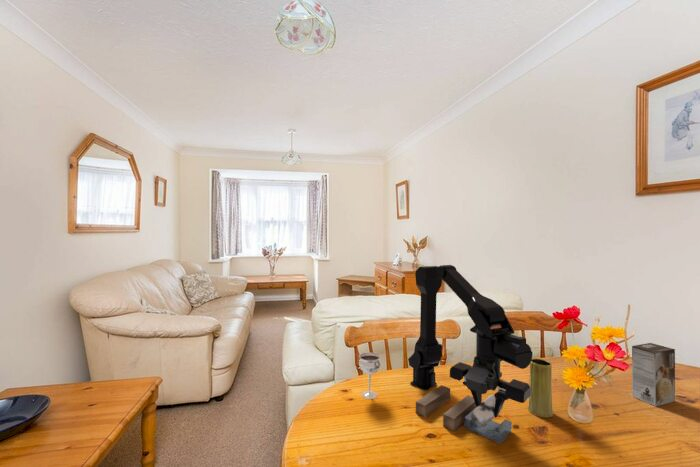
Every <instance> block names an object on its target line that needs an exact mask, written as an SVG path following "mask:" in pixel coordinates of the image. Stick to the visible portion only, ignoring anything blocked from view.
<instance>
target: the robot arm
mask: <svg viewBox="0 0 700 467" xmlns="http://www.w3.org/2000/svg"><path fill="white" fill-rule="evenodd" d="M414 275H415V285H416V287H417V289H418V290H419V293H420V318H419V319H420V322H419V324H420V325H419V327H420V328H419V337H418V339H417V340H416V342H415V344H414V351H413V354H411V356H410V357H408V359H407V360H408V365H409V367H410V368H412V381H410V383H409V384H410V385H412V386H414V387H416V388H419V389H421V390H424V391H425V392H426V391H428V390H430V389H432V388H434V387H435V386H437V385H438V384H437V382H436V372H435V367H437V368H438V367H439V364H440V362H441V360H442V357H444V356H443V344H441V343H440V342H439V341H438V339H437V336H436V335H437V334H436V332H437V294H438V292H439V291H440V289H441V287H442V284H443V281H444V283H445V284H446V285H447V286H448V287H449V288H450V290H452V292H453V293H454V294H455V295H456V296H457V297H458V298H459V299H460V301H461V302H462V303H463V304H464V305H465V306H466V310H467V314H468V316H469V317H470V319H471V321H472V322H473V323H474V325H473V327H470V329H469V331H470V332H471V333H474V334H476V336H475V337H476V339H475V340H476V342H475V343H476V344H475V345H476V346H475V347H476V348H475V350H476V351H475V356H474V357H473V364H472V365H470V364H467V363H464V362H460V361H459V362H457V363H456V364H454V365H453V366H451V367H450V368H449V377H450V378H451V379H454V380H456V381H458V382H459V381H461V380H463V381H462V385H463V386H465V387H466V388H467V389H468V390H470V393H471V395H472V397H473V398H474V401H475V404H476V407H477V406H479V405H480V404H481V403H482V402H483V401H482V400H483V399H482V398H483V395H485V394H486V393H487V392H488V391H490V390H491V391H493V392H494V391H496V389H497V392H496V393H494V394H493V395H494V396H495V410H494V414H495V417H494V418H495V419H496V418H498V416H499V415H500V413H501V410H502V409H503V408H502V406H503V407H504V403H505V402H506V401H508V400H512V401H514V402H517V403H519V404H520V403H521V404H524V403H525V402H527V400H529V397H530V396H531V388H530V386H529V383H527V382H524V381H521V380H517V379H515V378H512V380H511V381H510V382H509V381H506V380H502V379H501V378H502V376H503V372H501V362H505V363H507V364H510V365H512V366H514V367H517V368H519V369H520V370H521V369H522V370H524V369H526V368H528V367H530V363H531V360H532V359H533V351H532V348H531V346H530V345H529V344H528V343H527V338H526V337H522V336H517V335H514V334H515V329H514V328H513V326H512V324H511V322H510V321H509V319H508V317H507V315H506V311H505V309H504V308H503V306H502V305H500V304H499V303H497V302H496V301H494V300H493V299H491V298H489V297H487V296H484V295H482V294H481V293H480V292H479V291H478V290H477V289H476V288H475V287H474V286H473V285H472V284H471V283H470V282H469V281H467V279H466V277H464V276H463V275H462V274H461V273H460V272H459V271H458V270H457V268H456V266H454V265H453V264H442V265H439V266H438V265H429V266H427V265H426V266H419V267H418V268H417V269H416V270H415V274H414ZM496 327H497V328H496ZM501 408H502V409H501Z"/></svg>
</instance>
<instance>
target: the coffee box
mask: <svg viewBox="0 0 700 467" xmlns="http://www.w3.org/2000/svg"><path fill="white" fill-rule="evenodd" d="M631 355H632V356H631V378H632V379H631V380H632V382H631V397H632V396H633V397H632V398H634V397H636V398H635V399H637V398H638V399H637V400H639V399H640V400H639V401H641V400H642V401H641V402H644V401H645V402H644V403H646V402H647V404H648V405H651V404H652V405H651V406H653V405H654V406H653V407H660V406H663V405H666V404H667V405H668V404H671V403H674V402H676V349H675V348H672V347H668V346H663V345H660V344H656V343H653V342H647V343H642V344H636V345H632V346H631Z"/></svg>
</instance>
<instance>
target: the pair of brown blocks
mask: <svg viewBox="0 0 700 467" xmlns="http://www.w3.org/2000/svg"><path fill="white" fill-rule="evenodd" d="M450 400H451V387H447V386H446V385H442V384H441V385H439V386H438V387H436V388H435V389H433V390H432V391H430V392H428V393H427V394H425V395H424V396H422V397H421V398H419V399H418V400H416V401H415V414H417V415H419V416H421V417H423V418H427V417H428V416H429V415H430V414H432V413H433V412H434V411H436V410H437V409H438V408H441V406H443V405H444V404H445V403H447V402H448V401H450ZM475 408H476V404H475V401H474V398H473V396H471V395H466V396H465V397H463V398H462V399H461V400H459V401H458V402H457V403H456V404H454V405H453V406H452V407H451V408H449V409H448V410H446V411H445V412H444V413H443V414H442V426H443V427H444V428H446V429H449V430H450V431H453V432H455V431H456V430H457V429H458V428H459V427H461V426H462V425H463V424H464V423H465V417H466V416H467V415H468V414H469V413H470V412H472V411H473V410H474V409H475Z"/></svg>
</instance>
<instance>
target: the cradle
mask: <svg viewBox="0 0 700 467" xmlns="http://www.w3.org/2000/svg"><path fill="white" fill-rule="evenodd" d="M471 413H472V412H470V413H469V414H468V415H467V416H466V417H465V422H464V423H463V424H464V428H465V429H467V430H469V431H471V432H473V433H475V434H477V435H479V436H482V437H484V438H487V439H488V440H491V441H492V442H495V443H497V444H498V445H499V444H500V445H501V444H502V443H503V442H504V441H505V440H506V439H507V438H508V436H509V435H510V434H511V433H512V428H513V425H512V423H513V422H512V421H511V420H509V419H504V420H502V422H501V423H500V422H497V421H494V420H493V419H492V420H491V421H490V422H489V423H488V424H487V425H486V426H484V427H480V426H478V425H476V424H475V423H474V421H473V420H472V417H471Z"/></svg>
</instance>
